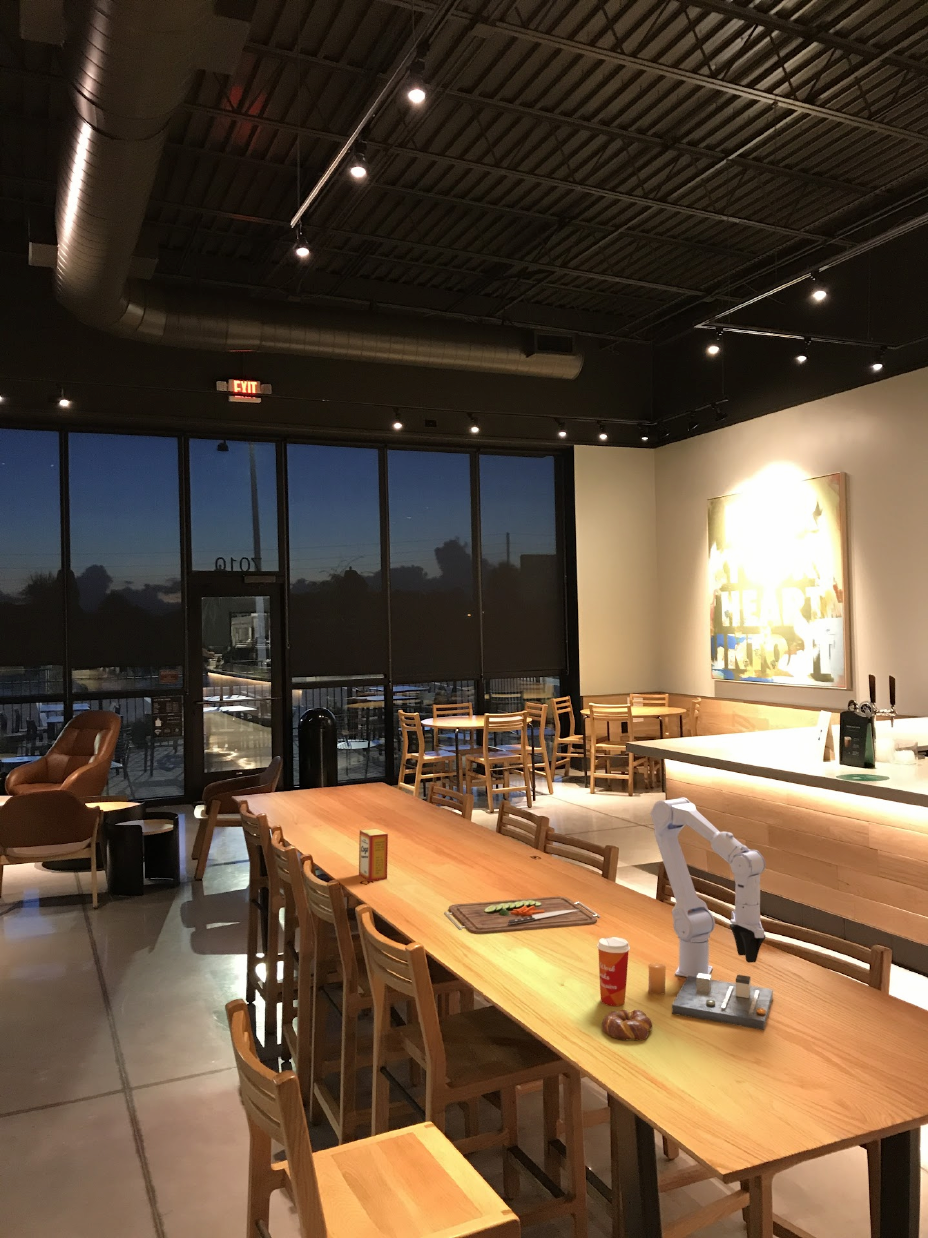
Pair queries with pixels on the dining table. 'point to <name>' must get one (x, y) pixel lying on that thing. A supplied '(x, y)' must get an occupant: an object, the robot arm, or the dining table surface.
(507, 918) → the chopping board
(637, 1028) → the pretzel
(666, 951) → the dining table surface
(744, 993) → the lever
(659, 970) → the cap
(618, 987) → the paper cup
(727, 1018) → the panel
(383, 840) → the baking soda box
